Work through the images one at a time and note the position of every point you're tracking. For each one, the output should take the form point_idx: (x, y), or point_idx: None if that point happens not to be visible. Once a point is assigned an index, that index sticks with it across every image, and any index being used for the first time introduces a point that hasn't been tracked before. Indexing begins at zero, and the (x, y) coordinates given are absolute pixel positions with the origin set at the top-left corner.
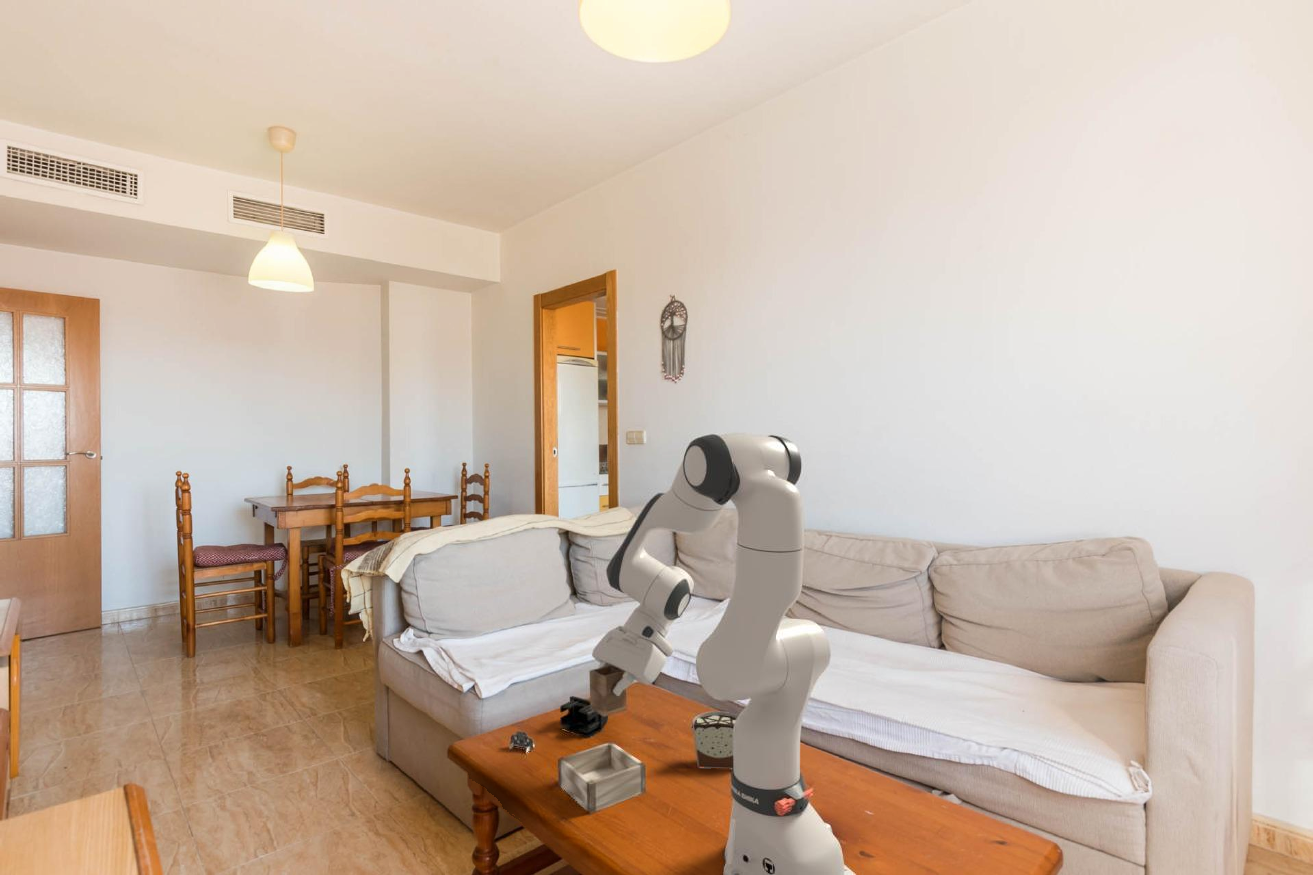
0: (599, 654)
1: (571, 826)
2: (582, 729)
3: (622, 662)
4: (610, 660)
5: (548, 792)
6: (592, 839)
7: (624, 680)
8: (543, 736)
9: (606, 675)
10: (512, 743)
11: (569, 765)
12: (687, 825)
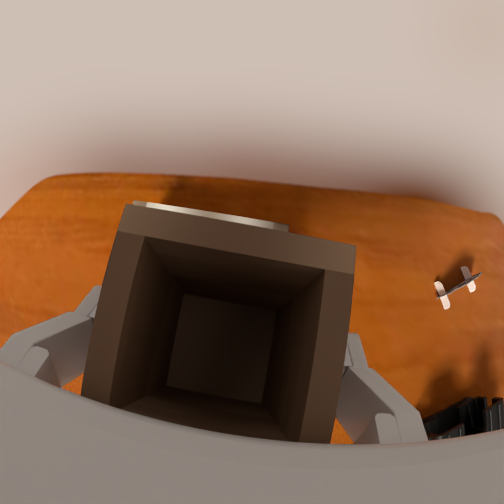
0: (496, 453)
1: (149, 181)
2: (429, 422)
3: (50, 435)
4: (297, 463)
5: (274, 219)
6: (99, 184)
7: (27, 332)
8: (469, 351)
9: (130, 251)
10: (469, 274)
11: (239, 222)
12: (10, 313)
